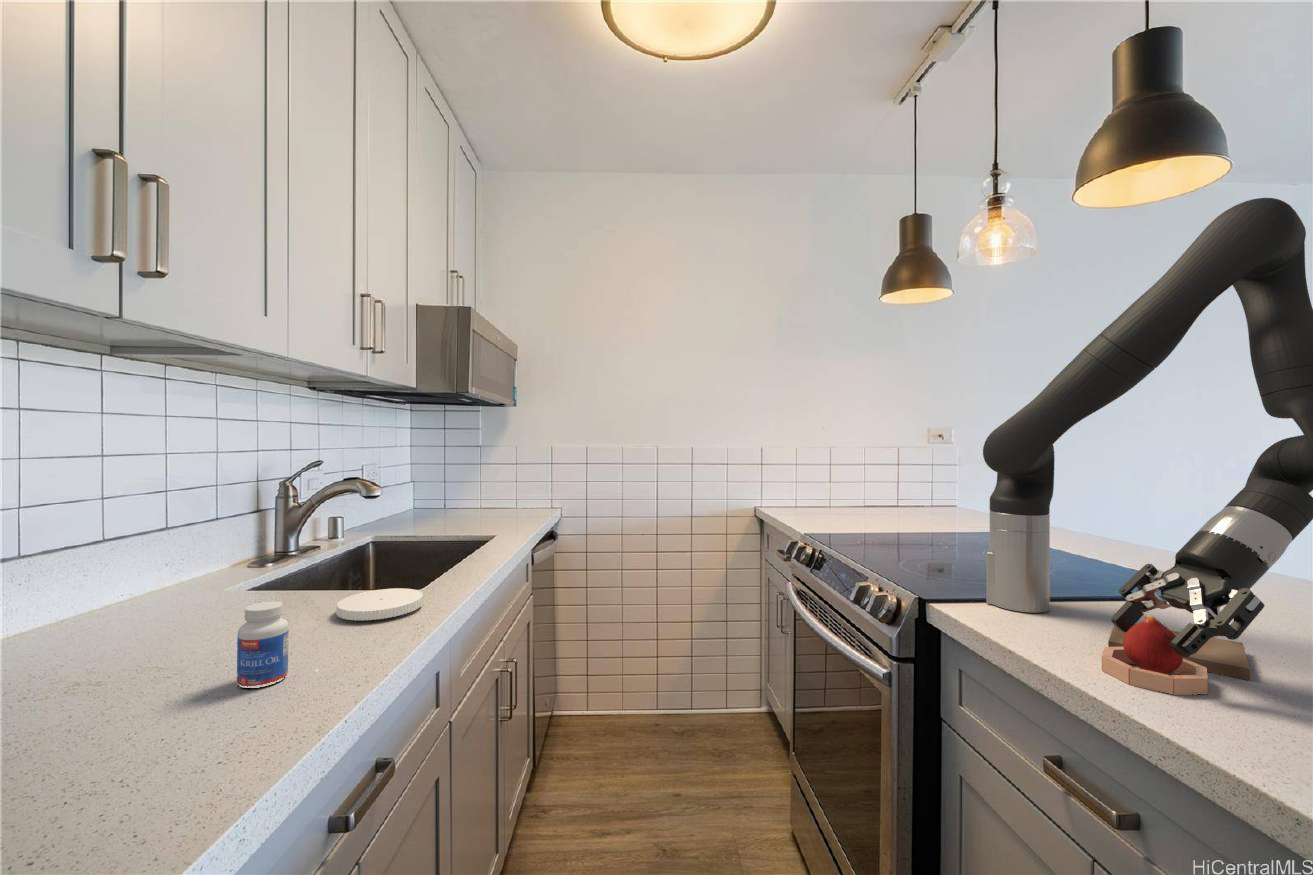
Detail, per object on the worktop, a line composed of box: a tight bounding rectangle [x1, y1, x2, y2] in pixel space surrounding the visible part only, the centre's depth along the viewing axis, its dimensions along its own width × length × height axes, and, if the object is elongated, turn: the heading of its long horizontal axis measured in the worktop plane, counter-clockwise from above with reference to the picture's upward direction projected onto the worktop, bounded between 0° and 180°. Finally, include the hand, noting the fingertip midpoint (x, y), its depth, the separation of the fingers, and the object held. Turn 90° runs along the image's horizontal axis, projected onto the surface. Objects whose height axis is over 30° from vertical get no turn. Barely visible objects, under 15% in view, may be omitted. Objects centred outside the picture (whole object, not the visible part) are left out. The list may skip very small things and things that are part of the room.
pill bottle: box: [236, 601, 290, 687], centre depth 71 cm, size 6×5×10 cm
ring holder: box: [1101, 646, 1209, 696], centre depth 71 cm, size 10×10×2 cm
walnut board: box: [1107, 623, 1251, 681], centre depth 79 cm, size 14×12×2 cm
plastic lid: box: [335, 587, 424, 621], centre depth 99 cm, size 14×14×2 cm
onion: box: [1123, 614, 1183, 675], centre depth 71 cm, size 6×6×8 cm
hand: (1146, 638), depth 71 cm, fingers open, 8 cm apart
